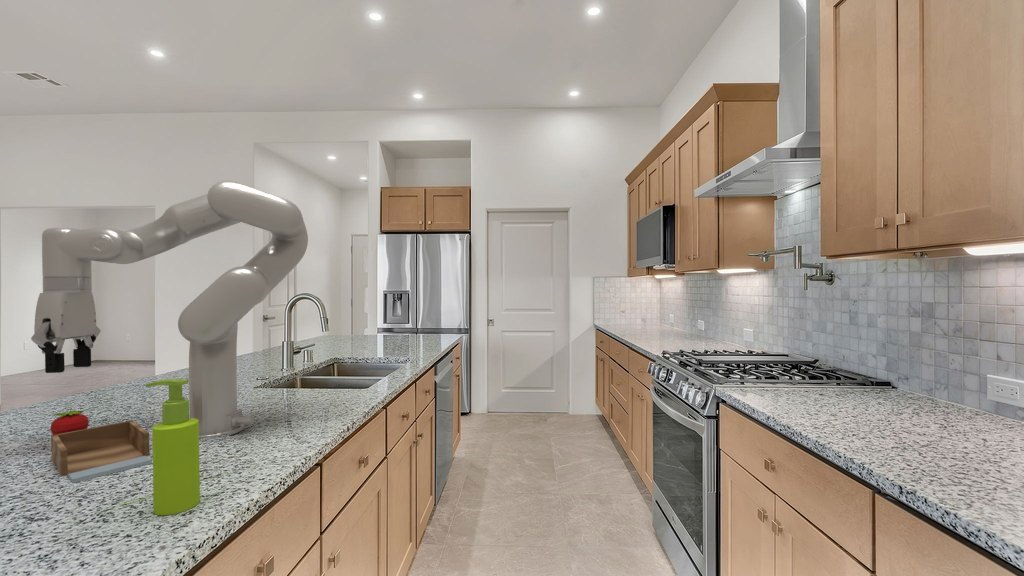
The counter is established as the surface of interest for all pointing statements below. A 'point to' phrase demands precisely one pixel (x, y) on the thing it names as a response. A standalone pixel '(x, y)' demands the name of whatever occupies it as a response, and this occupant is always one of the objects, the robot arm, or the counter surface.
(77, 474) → the panel
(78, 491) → the counter surface
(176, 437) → the soap dispenser
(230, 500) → the counter surface
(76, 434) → the crate
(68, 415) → the strawberry
